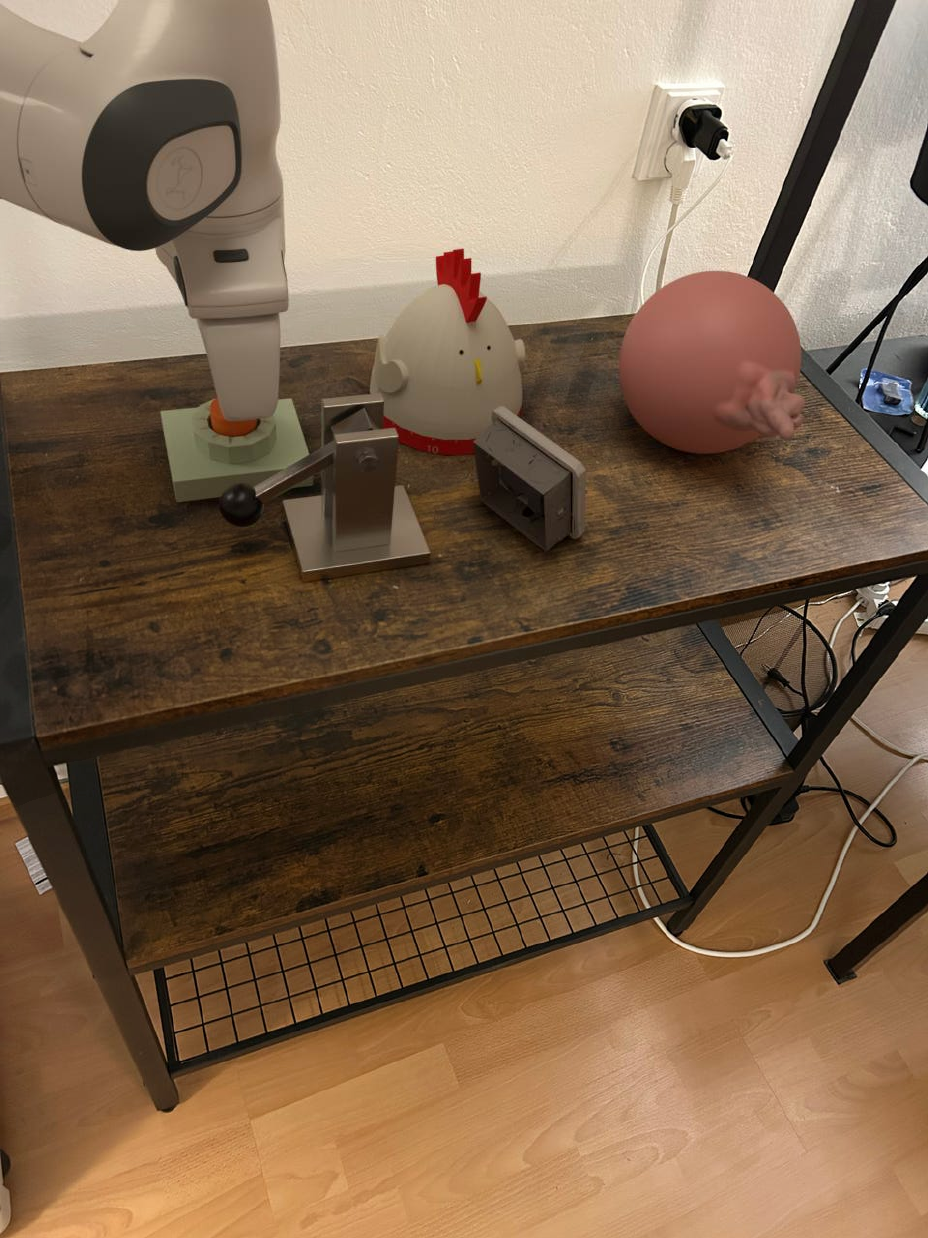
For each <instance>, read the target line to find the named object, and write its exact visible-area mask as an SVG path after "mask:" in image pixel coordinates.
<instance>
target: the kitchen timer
mask: <svg viewBox="0 0 928 1238" xmlns="http://www.w3.org/2000/svg"><path fill="white" fill-rule="evenodd" d="M435 272H436V273H435V274H436V282H437V283H436V284H437V285H436V286H433V287H430V288H428V289H426V290H424V291H423V292H422V293H421V294H418V295H417V296H416V297H415V298H413V299H412V300H411V301H410V302H409V303H407V304H406V306H405V307H403V309H402V310H401V311H400V312H399V314H398V315H397V317H396V318H395V320H394V322H393V323H392V324H391V326H390V327H389V329H388V330H387V333H386V334H385V336H384V335H382V334H379V335H378V339H377V343H376V348H375V349H376V350H375V354H374V364H373V367H372V372H371V376H370V383H369V394H377V393H381V395H382V397H383V400H384V414H383V429H388V428H395V429H396V431H397V434H398V436H399V439H398V443H400V444H403V445H405V446H408V447H410V448H412V449H415V450H418V451H420V452H425V453H429V454H436V455H441V456H467V455H471V454H474V447H473V441H474V440H476V439H477V438H478V437H479V436H481V435H482V434H483V433H484V432H485V431H486V429H487V428H488V427H489V426H491V425H492V424H493V423H492V418H491V416H492V412H493V411H494V410H495V409H497V408H498V407H499V406H504V407H505V408H507V409H508V410H509V411H511V412H512V413H513V414H515V415H516V416H518V417H519V418H521V412H522V406H523V382H522V379H523V378H522V372H523V371H525V368H526V348H525V343H524V341H523V340H522V339H521V338H518V339H514V336H513V333H512V332H511V329H510V327H509V326H508V323H507V322H506V320H505V317H503V315H502V313H501V311H500V310H499V309H498V307H497V305H495V304H494V303H493V302H492V301H491V299H490V298H489V297H488V296H486V295H485V294H484V293H483V292H481V291H480V287H481V282H482V281H481V280H482V272H480V271H479V272H473V273H472V257H469V258H468V257H467V258H465V248H456V249H452V251H445V252H443V255H437V256H435Z"/></svg>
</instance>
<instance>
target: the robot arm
mask: <svg viewBox="0 0 928 1238" xmlns="http://www.w3.org/2000/svg"><path fill="white" fill-rule="evenodd" d="M271 11H272V10H271V8H270V3H269V0H118V1H117V3H116V5H115V6H114V8H113V10H112V11H111V13H110V14H109V15H108V17H107V18H106V20H105V21H104V22H103V24H101V26H100V27H99V29H97V30H96V31H95V32H94V33H93V34H92V35H91V36H90V37H89V38H87V39H86V40H84V41H82V42H81V41H80V40H77V39H74V38H72V37H68V36H65V35H63V34H60V33H58V32H54V31H52V30H49V29H46V28H45V27H41V26H38V25H36V24H34V23H32V22H31V21H29V20H27V19H25V18H24V17H22V16H20V15H19V14H17V13H15V12H14V11H12V10H11V9H9V8H7V7H6V6H4V5H3V4H1V3H0V200H4V201H6V202H8V203H10V204H12V205H15V206H17V207H19V208H22V209H23V210H26V211H28V212H31V213H33V214H35V215H38V216H40V217H43V218H44V219H47V220H49V221H52V222H54V223H56V224H59V225H61V226H64V227H67V228H70V229H71V230H74V231H77V232H79V233H80V234H83V235H86V236H88V237H90V238H93V239H96V240H98V241H100V242H103V243H105V244H108V245H112V246H115V247H118V248H121V249H123V250H127V251H132V252H143V251H144V252H145V251H150V250H154V252H155V255H156V256H157V258H158V260H159V261H160V263H161V264H162V265H164V267H165V268H166V270H167V272H168V273H169V274H170V276H171V278H172V279H173V280H174V282H175V284H176V285H177V287H178V290H179V292H180V295H181V297H182V299H183V302H184V303H183V304H184V306H185V307H186V309H187V312H188V315H189V317H190V318H192V319H194V320H196V323H197V326H198V330H199V332H200V336H201V339H202V342H203V346H204V350H205V354H206V359H207V362H208V366H209V370H210V374H211V378H212V382H213V386H214V389H215V394H216V398H218V402H219V405H220V408H221V411H222V414H223V416H224V417H225V419H226V420H228V421H244V420H254V419H262V418H268V417H271V416H272V415H273V414H274V412H275V410H276V408H277V404H278V400H279V393H280V392H279V391H280V373H281V371H280V370H281V369H280V368H281V336H282V335H281V318H280V313H285V312H288V310H289V306H290V304H289V303H290V301H289V299H290V298H289V286H288V277H287V272H286V266H285V259H286V228H285V227H286V225H285V223H286V222H285V195H284V178H283V174H282V171H281V169H280V168H281V167H280V165H279V162H278V157H277V140H278V135H279V132H280V128H281V121H282V113H281V89H280V86H281V85H280V70H279V61H278V49H277V43H276V41H277V40H276V35H275V29H274V28H275V27H274V21H273V16H272V12H271Z"/></svg>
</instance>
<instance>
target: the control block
mask: <svg viewBox="0 0 928 1238" xmlns="http://www.w3.org/2000/svg"><path fill="white" fill-rule="evenodd" d="M214 399H215V398H213V399H211V400H209V401H206V402H204V403H202V404H200V405H199V406H197V407H188V408H178V409H169V410H160V418H161V425H162V432H163V437H164V442H165V447H166V453H167V458H168V464H169V469H170V475H171V480H172V485H173V491H174V492H173V493H174V496H175V502H176V503H183V502H184V503H185V502H192V501H200V500H207V499H209V500H210V499H216V498H220V497H221V495H222V493H223V492H224V490H225V489H227V488H228V487H229V486H231V485H233V484H237V483H245V484H249V485H251V486H253V487H254V486H256V485H258V484H259V483H261V482H263V481H265V480H266V479H268V478H270V477H271V476H273V475H275V474H277V473H278V472H280V471H282V470H283V469H285V468H287V467H289V466H290V465H292V464H294V463H295V462H297V461H299V460H301V459H302V458H304V457H306V456H308V455H309V454H310V452H309V449H308V446H307V445H308V444H307V443H306V440H305V436H304V433H303V431H302V426H301V423H300V420H299V418H298V414H297V411H296V408H295V404H294V401H293V399H292V398H281V399H278V404H277V408H276V410H275V412H274V414H273V415H272V416H271V417H268V418H262V419H257V426H256V428H255V430H254V431H253V432H252V433H250V434H248V435H246V436H240V437H227V436H223V435H220V434H218V433H217V432H215V430H214V429H213V428H212V424H211V415H210V404H211V402H212V401H213V400H214ZM312 486H314V475H313V476H311V477H310V478H308V479H306V480H304V481H303V482H301V483H299V484H297V485H296V486H294V487H292V488H291V489H296V488H297V489H298V488H303V487H312Z"/></svg>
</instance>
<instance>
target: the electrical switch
mask: <svg viewBox="0 0 928 1238" xmlns="http://www.w3.org/2000/svg"><path fill="white" fill-rule="evenodd" d="M491 418H492V423H493V424H492V425H491V426H489V427H488V428H487V429H486V431H485V432H484V433H483V434H482V435H481V436H479V437H478V438H477V439H476V440H474V441H473V447H474V453H473V454H474V462H475V469H476V476H477V483H478V491H479V497H480V500H481V502H482V503H483V504H484V505H486V506H487V507H488V508H490V509H491V510H492V511H493V512H495V513H496V514H497V515H498V516H500V517H501V518H502V519H503V520H505V521H506V522H507V523H508V524H510V525H511V526H512V527H514V528H515V529H516V530H517V531H518V532H520V533H521V534H522V535H524V536H525V538H528V539H529V540H530V541H531V542H532V543H534V544H535V545H536V546H538V547H539V548H540V549H542V550H543V551H544V552H548V551H549V550H550V549H552V547H554V546H555V544H557V543H558V542H560V541H563V540H564V538H565V537H567V536H569V537H570V538H571V539H573V540H578V539H579V538H580V537H581V536H582V535H583V534H584V533H585V532H586V531H585V529H586V527H585V526H586V525H585V524H586V476H587V475H586V474H587V473H586V471H587V470H586V468H585V466H584V465H583V463H582V462H581V461H580V460H579V459H578V458H576V457H574V456H573V455H572V454H570V452H567V451H566V450H564V449H563V448H562V447H561V446H559V444H557V443H555V442H553V441H552V440H551V439H550V438H548V437H547V436H545V435H544V434H542V433H541V432H540V431H539V430H537V429H536V428H534V427H533V426H532V425H530V424H529V423H527V421H525V420H523V419H522V418H521V417H518V416H516V415H515V414H513V413H512V412H511V411H509V410H508V409H507V408H505V407H504V406H499V407H498V408H497V409H495V410H494V411H493V412H492V416H491ZM527 507H528V508H529V509H530V510H531V511H532V513H533V514H531V515H530V516H524V515H523V512H524V511H525V510H526V508H527Z"/></svg>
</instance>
